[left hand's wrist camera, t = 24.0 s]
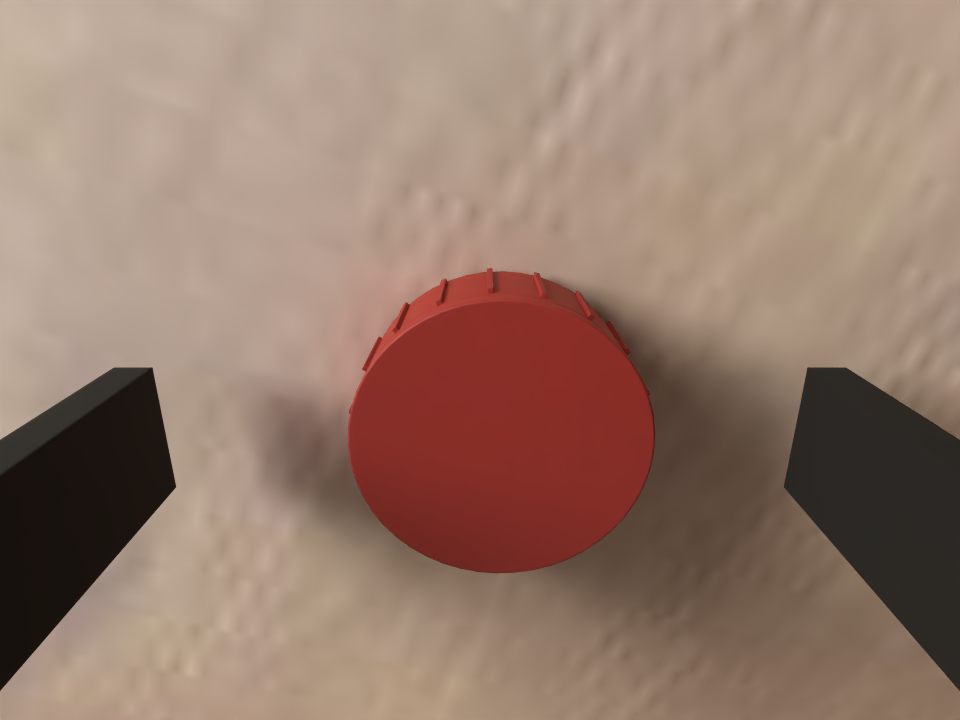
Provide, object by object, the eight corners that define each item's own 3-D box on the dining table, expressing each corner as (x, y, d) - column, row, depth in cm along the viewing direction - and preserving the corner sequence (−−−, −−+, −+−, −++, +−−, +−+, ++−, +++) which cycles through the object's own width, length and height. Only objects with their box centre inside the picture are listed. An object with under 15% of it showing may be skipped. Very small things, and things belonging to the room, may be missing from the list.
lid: (686, 378, 13) (727, 427, 11) (515, 551, 15) (520, 623, 13) (478, 208, 12) (477, 224, 10) (315, 416, 14) (283, 470, 11)
